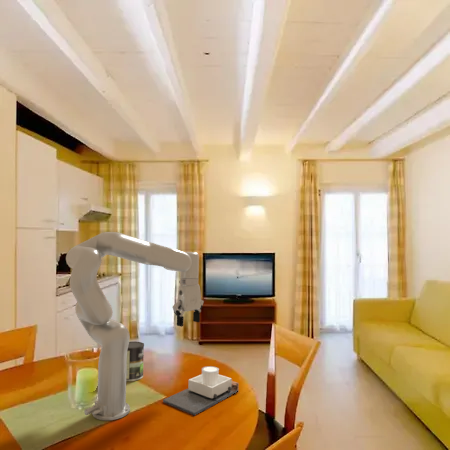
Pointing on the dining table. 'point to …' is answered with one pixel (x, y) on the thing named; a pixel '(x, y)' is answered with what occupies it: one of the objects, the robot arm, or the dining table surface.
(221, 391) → the white tray on base
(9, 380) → the dining table surface
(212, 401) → the dark grey base plate
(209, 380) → the white tapered cylinder
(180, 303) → the robot arm
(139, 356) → the coffee can
